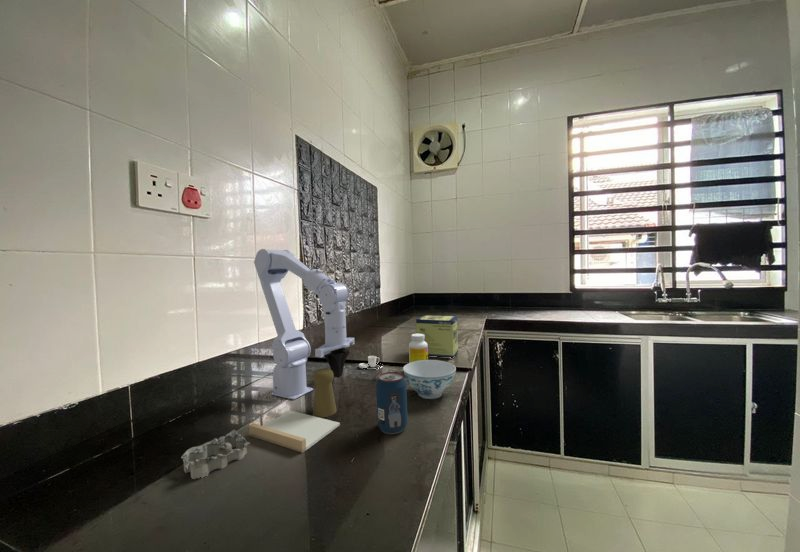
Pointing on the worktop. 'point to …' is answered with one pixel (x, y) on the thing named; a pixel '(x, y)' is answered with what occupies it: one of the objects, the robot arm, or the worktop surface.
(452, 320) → the protein box
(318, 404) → the cork
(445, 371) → the chinaware
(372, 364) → the teacup and saucer
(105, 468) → the worktop surface
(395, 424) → the soda can
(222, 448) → the egg carton
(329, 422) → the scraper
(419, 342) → the supplement bottle
